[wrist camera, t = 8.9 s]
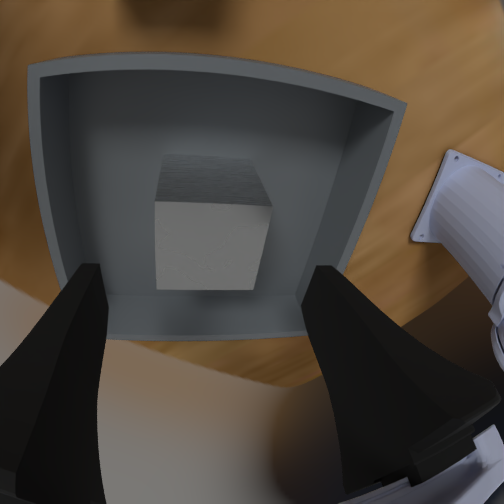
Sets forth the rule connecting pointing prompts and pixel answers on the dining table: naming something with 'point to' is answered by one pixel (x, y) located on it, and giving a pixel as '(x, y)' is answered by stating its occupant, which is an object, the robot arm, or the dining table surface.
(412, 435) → the robot arm
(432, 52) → the dining table surface
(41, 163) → the tote
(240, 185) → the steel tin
